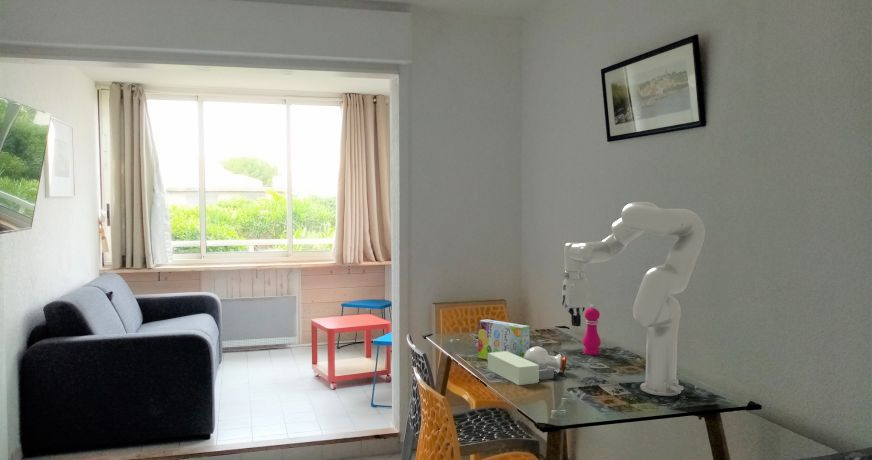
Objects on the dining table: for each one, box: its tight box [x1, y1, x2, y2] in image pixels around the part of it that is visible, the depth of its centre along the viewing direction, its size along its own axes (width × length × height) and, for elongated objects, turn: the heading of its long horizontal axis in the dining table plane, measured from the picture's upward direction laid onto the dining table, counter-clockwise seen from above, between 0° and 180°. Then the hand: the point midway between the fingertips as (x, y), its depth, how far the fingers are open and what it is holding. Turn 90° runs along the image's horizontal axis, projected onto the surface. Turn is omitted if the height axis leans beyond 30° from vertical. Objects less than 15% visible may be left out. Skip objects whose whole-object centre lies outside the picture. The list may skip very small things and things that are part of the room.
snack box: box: [477, 319, 531, 361], centre depth 245 cm, size 21×6×15 cm, turn 47°
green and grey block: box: [487, 351, 555, 386], centre depth 227 cm, size 22×16×6 cm
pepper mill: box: [582, 303, 602, 356], centre depth 259 cm, size 7×7×20 cm
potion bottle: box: [523, 345, 567, 374], centre depth 230 cm, size 9×10×15 cm
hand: (576, 325), depth 234 cm, fingers closed
